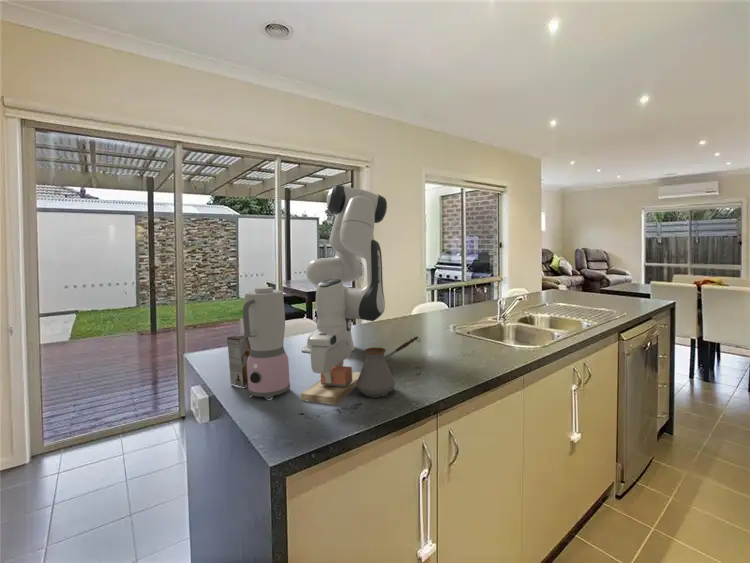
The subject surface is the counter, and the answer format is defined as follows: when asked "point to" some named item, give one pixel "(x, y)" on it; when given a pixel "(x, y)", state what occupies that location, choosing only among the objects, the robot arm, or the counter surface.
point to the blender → (266, 342)
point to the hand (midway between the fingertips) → (334, 378)
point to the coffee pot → (377, 372)
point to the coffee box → (238, 359)
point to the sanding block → (339, 376)
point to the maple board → (329, 391)
